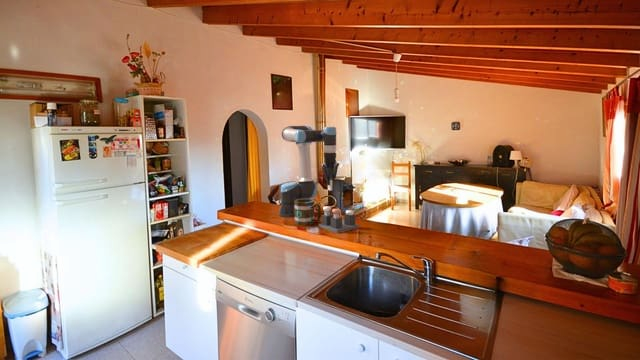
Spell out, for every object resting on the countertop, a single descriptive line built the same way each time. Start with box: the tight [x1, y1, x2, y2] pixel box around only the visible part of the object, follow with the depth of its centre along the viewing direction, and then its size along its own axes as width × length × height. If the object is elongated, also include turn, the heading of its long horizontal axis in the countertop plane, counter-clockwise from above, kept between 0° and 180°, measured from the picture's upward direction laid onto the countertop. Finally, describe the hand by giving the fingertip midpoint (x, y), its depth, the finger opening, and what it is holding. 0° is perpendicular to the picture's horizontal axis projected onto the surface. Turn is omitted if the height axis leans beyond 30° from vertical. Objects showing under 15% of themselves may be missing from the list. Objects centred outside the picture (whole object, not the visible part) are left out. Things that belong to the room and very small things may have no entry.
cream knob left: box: [345, 209, 355, 216], centre depth 217 cm, size 5×5×8 cm
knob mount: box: [318, 214, 360, 234], centre depth 218 cm, size 18×18×8 cm
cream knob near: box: [322, 205, 332, 216], centre depth 217 cm, size 5×5×8 cm
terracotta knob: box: [331, 208, 341, 218], centre depth 210 cm, size 5×5×8 cm
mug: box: [294, 199, 321, 227], centre depth 227 cm, size 20×14×15 cm
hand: (330, 190), depth 216 cm, fingers closed
